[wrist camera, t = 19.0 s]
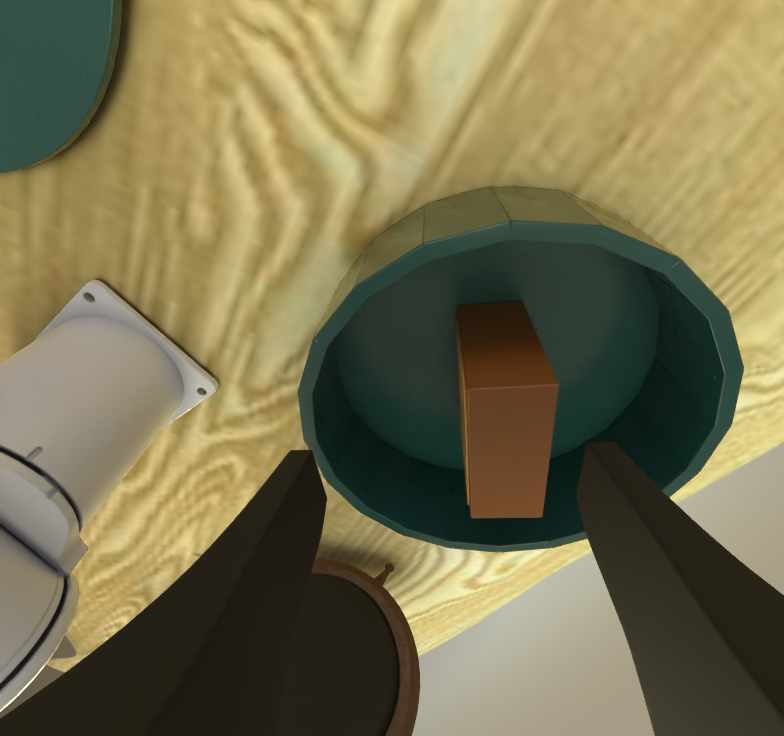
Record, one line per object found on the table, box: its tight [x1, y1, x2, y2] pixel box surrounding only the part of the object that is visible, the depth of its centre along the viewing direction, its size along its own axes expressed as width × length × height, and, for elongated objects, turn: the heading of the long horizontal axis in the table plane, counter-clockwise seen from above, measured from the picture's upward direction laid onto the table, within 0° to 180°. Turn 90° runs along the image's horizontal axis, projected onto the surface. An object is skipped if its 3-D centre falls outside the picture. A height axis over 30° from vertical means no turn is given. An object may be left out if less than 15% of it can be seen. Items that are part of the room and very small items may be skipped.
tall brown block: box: [456, 301, 559, 518], centre depth 18 cm, size 3×7×6 cm, turn 7°
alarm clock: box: [277, 559, 420, 736], centre depth 25 cm, size 14×7×20 cm, turn 80°
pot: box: [298, 186, 744, 552], centre depth 19 cm, size 17×17×5 cm
